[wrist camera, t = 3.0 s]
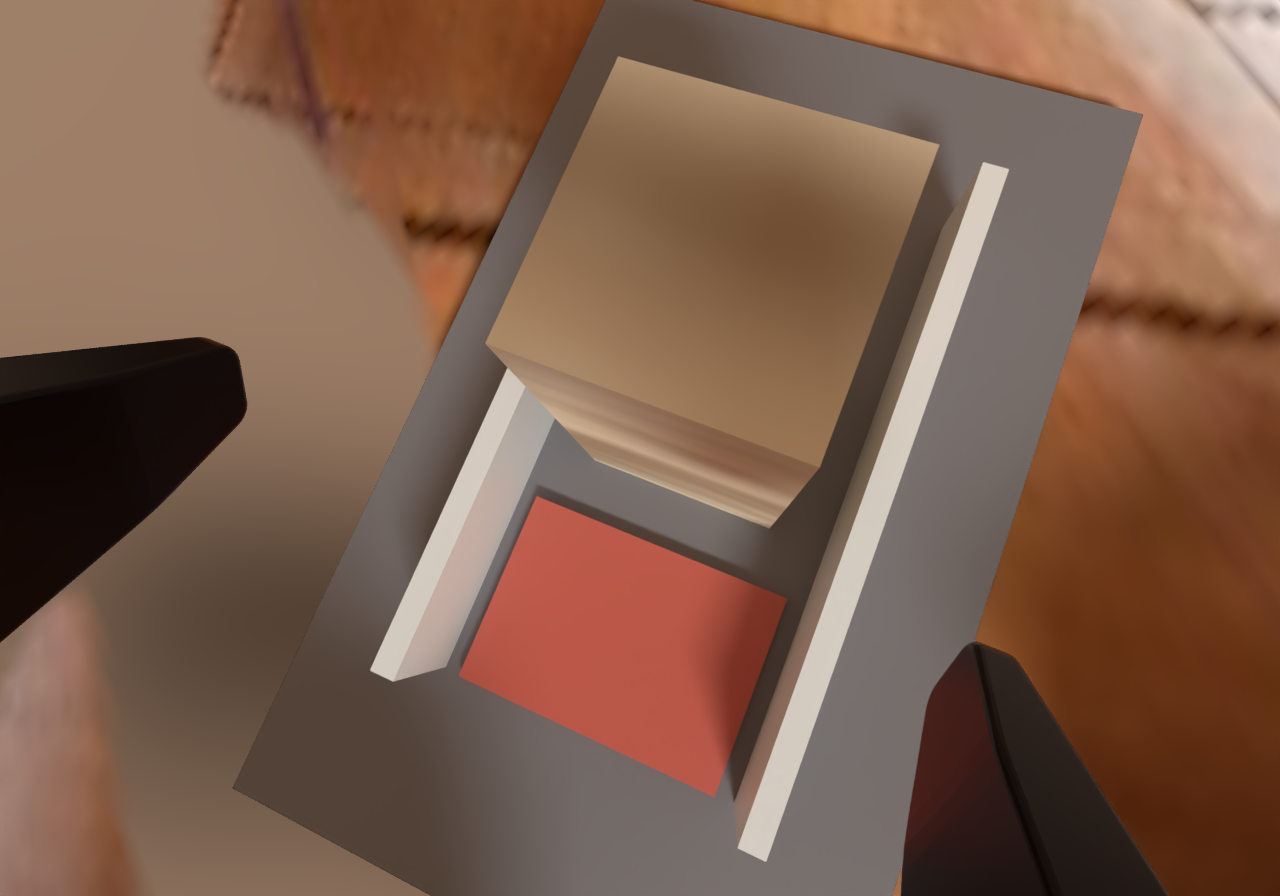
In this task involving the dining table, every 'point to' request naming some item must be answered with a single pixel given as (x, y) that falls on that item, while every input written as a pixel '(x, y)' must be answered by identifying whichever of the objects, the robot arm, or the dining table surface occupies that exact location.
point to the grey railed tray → (699, 538)
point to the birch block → (709, 283)
